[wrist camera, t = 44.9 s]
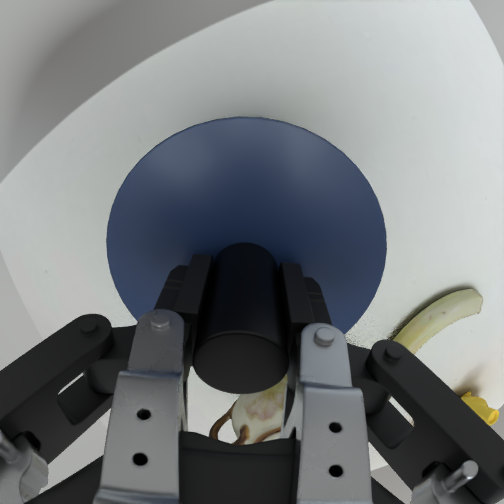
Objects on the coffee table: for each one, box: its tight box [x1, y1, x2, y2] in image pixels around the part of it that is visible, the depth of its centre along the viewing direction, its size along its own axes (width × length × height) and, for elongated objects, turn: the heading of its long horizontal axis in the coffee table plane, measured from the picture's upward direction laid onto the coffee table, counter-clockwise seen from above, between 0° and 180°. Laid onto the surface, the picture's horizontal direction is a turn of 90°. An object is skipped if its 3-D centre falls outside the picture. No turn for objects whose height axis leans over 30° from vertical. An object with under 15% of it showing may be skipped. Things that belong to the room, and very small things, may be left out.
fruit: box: [393, 289, 483, 354], centre depth 30 cm, size 7×15×3 cm, turn 123°
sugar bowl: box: [209, 374, 369, 445], centre depth 29 cm, size 20×15×15 cm
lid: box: [106, 117, 387, 394], centre depth 10 cm, size 12×12×6 cm
